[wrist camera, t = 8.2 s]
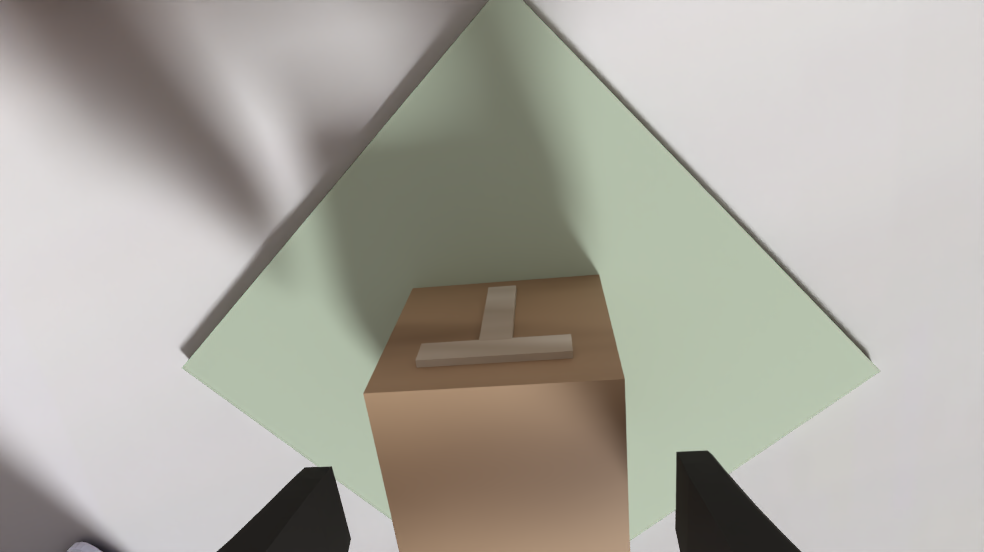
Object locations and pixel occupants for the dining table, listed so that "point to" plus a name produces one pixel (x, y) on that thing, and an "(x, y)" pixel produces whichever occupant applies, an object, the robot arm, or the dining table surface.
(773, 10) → the dining table surface
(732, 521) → the robot arm
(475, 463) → the letter cube
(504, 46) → the mat
